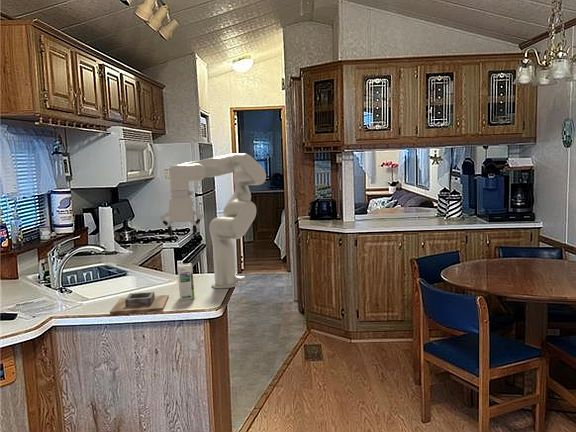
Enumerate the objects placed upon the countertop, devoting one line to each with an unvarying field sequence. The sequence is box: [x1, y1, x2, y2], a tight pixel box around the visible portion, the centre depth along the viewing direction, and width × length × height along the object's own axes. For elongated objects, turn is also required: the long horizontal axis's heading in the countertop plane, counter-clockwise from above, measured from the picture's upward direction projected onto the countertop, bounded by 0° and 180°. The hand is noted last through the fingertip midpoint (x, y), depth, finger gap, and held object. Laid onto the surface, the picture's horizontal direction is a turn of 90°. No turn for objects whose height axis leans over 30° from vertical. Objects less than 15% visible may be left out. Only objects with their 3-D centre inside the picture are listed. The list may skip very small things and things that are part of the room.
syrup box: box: [177, 262, 195, 301], centre depth 220 cm, size 6×6×14 cm
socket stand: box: [109, 291, 170, 316], centre depth 212 cm, size 20×20×4 cm
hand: (182, 235), depth 218 cm, fingers open, 9 cm apart
